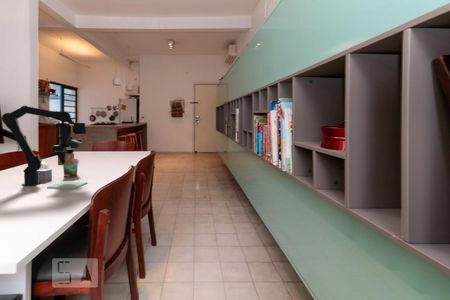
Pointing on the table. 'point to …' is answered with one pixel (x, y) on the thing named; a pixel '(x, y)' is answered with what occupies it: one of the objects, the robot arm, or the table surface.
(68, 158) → the tan cube
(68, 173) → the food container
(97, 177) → the table surface
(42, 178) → the medium grey block
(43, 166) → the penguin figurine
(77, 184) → the sage mat
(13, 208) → the table surface
